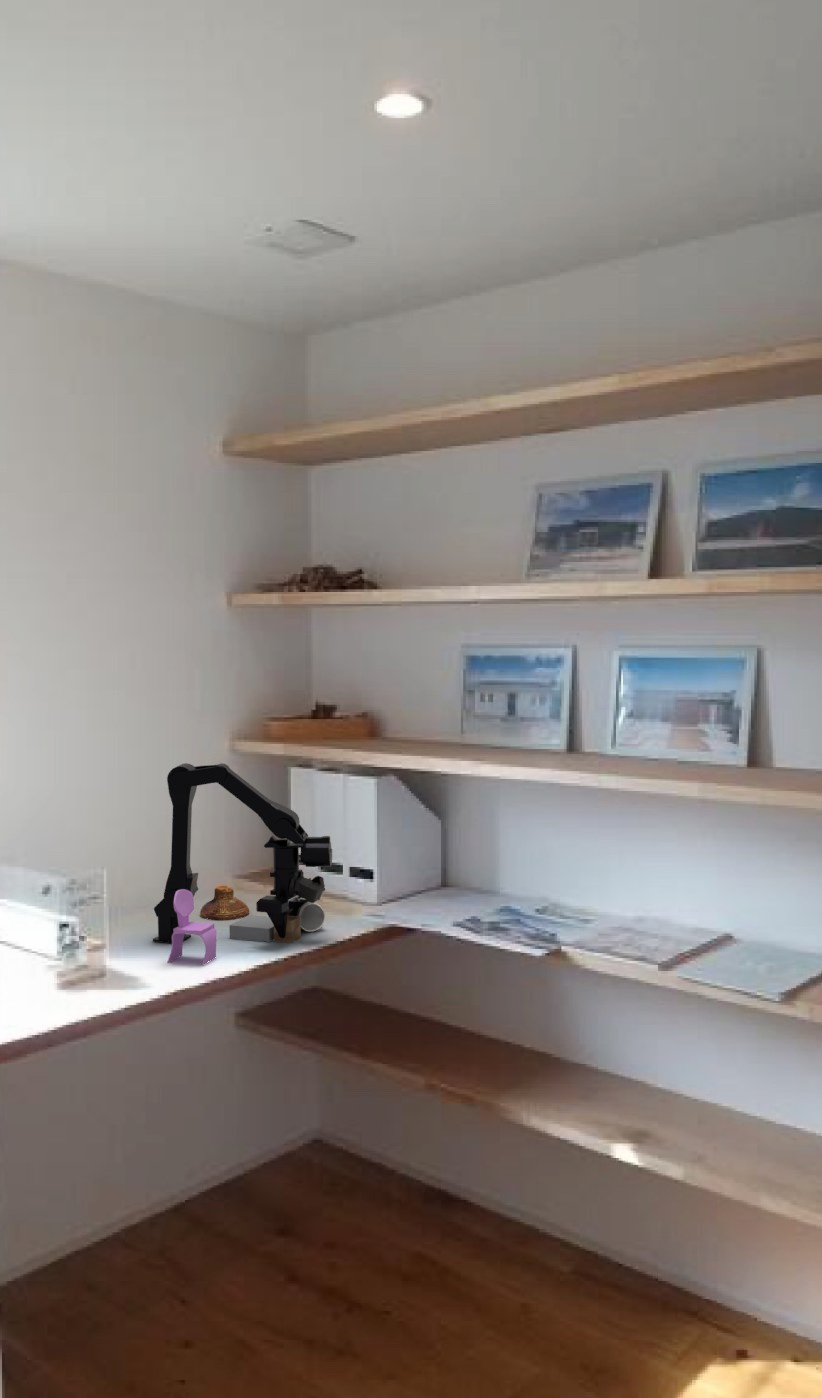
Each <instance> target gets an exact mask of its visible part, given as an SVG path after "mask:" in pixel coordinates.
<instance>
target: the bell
mask: <svg viewBox="0 0 822 1398" xmlns="http://www.w3.org/2000/svg"><path fill="white" fill-rule="evenodd" d="M234 893H235V892H234V889H233V888H232V887H230V886H228V885H226V884H222V885H221V884H220V885H217V886H216V887H215V888H214V895H213V898H212V899H211V900H210V901H209V900H208V902H206V903H205V904H203V906H202V908H201V909H200V912H199V913H200V917H201V916H202V917H201V918H203V917H204V918H203V919H205V918H208V919H207V920H209V919H211V920H210V921H231V920H230V919H233V920H237V919H236V918H238V919H242V918H245V917H247V916H249V915H250V908H249V906H248V905H247V904H246V903H245V902H244V901H242V900H241V899H239V898H237V897H235V896H234ZM244 916H245V917H244ZM241 917H242V918H241Z"/></svg>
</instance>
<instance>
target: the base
mask: <svg viewBox="0 0 822 1398" xmlns="http://www.w3.org/2000/svg"><path fill="white" fill-rule="evenodd" d="M228 931H229V939H233V940H242V941H255V942H264V941H267V943H270V942H272V941H274V925H273V923H272V921H271V919H270V918H269V916H268V915H253V914H248V915H247V916H245V917H242V918H240V919H239V920H237V921H235V922H233V923H231V924H230V925H229V930H228Z"/></svg>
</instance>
